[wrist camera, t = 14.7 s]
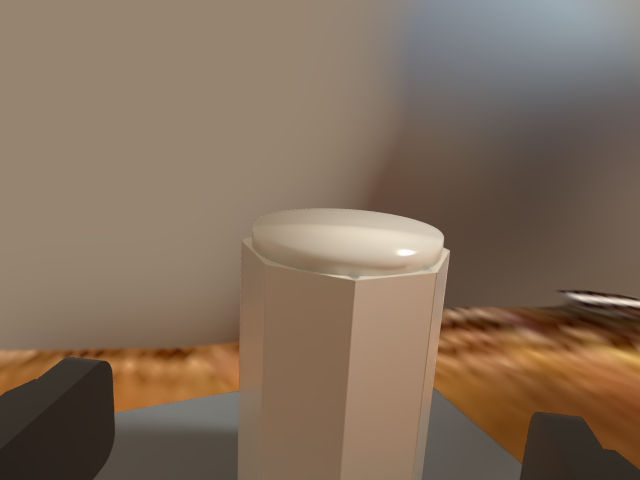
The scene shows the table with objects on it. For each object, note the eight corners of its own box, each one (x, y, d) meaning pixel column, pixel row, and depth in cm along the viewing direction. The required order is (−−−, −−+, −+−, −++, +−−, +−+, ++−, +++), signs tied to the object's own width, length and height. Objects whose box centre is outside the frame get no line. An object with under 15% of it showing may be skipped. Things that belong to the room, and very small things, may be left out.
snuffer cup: (363, 425, 23) (382, 205, 20) (450, 531, 17) (491, 247, 15) (225, 456, 20) (227, 210, 18) (276, 592, 15) (289, 263, 12)
